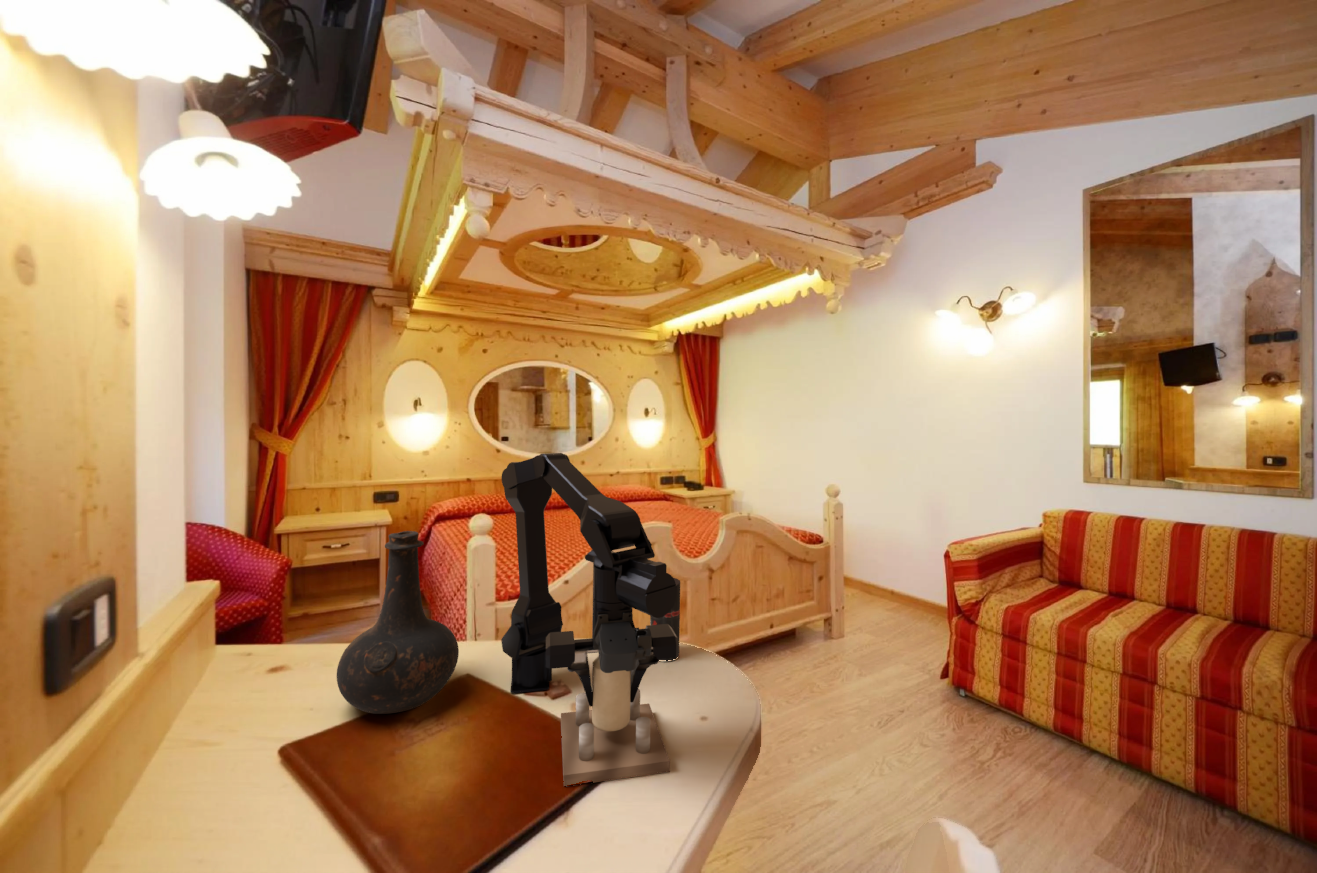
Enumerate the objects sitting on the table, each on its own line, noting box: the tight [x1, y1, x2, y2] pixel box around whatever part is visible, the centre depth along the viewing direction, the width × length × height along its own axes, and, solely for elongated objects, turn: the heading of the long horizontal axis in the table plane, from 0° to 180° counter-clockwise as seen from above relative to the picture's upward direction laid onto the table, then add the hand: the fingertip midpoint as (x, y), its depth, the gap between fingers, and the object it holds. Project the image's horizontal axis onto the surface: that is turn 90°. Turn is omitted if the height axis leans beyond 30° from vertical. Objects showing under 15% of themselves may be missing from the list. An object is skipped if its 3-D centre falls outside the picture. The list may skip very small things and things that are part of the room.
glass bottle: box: [336, 530, 460, 715], centre depth 84 cm, size 18×18×28 cm
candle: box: [591, 654, 631, 731], centre depth 73 cm, size 6×6×10 cm
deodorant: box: [649, 577, 681, 661], centre depth 101 cm, size 6×6×15 cm
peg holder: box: [560, 688, 671, 787], centre depth 73 cm, size 14×14×6 cm
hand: (611, 702), depth 73 cm, fingers closed on candle, 5 cm apart
